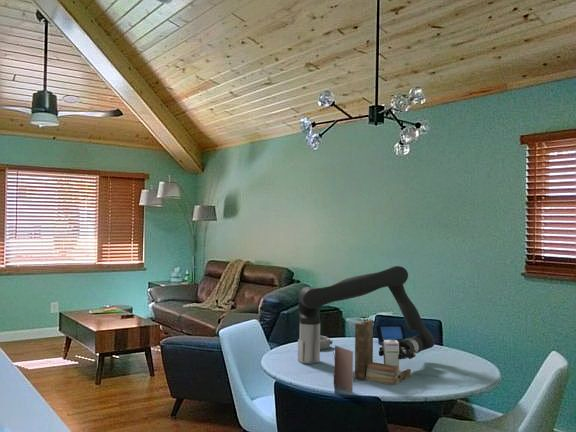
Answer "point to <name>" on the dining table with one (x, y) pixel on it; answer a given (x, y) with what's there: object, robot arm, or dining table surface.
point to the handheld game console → (390, 333)
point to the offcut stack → (382, 373)
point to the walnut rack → (367, 351)
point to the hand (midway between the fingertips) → (389, 355)
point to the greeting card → (343, 368)
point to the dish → (325, 342)
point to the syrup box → (391, 352)
